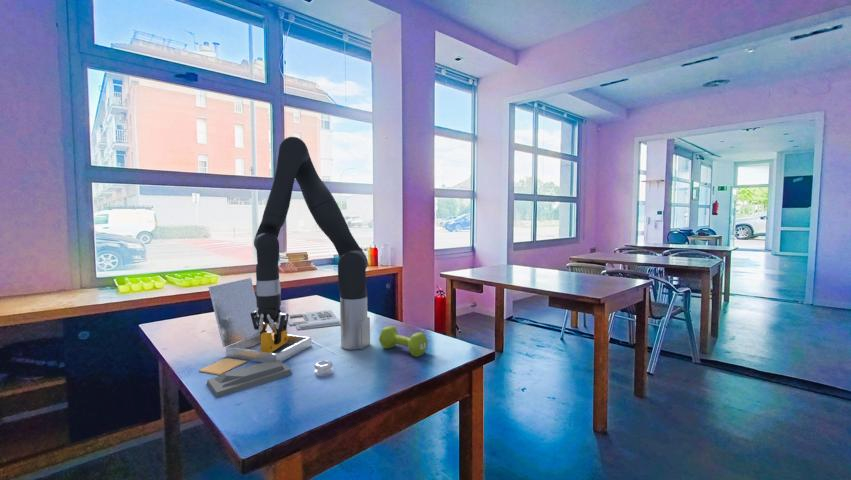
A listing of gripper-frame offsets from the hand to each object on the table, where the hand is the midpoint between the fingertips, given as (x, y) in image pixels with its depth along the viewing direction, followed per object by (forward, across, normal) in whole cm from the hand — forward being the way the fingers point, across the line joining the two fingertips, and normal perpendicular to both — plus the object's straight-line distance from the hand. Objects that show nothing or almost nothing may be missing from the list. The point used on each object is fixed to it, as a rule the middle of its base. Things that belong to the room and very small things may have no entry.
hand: (270, 342), depth 131 cm
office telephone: (+4, +8, -35) cm, 36 cm away
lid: (-10, +13, 0) cm, 17 cm away
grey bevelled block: (+4, -10, +20) cm, 22 cm away
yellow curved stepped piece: (+2, 0, -1) cm, 2 cm away
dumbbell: (+4, -42, -15) cm, 44 cm away
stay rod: (+1, +10, -10) cm, 14 cm away
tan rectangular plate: (+3, +4, +15) cm, 16 cm away
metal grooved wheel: (+3, -26, +9) cm, 28 cm away
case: (+3, 0, 0) cm, 3 cm away
